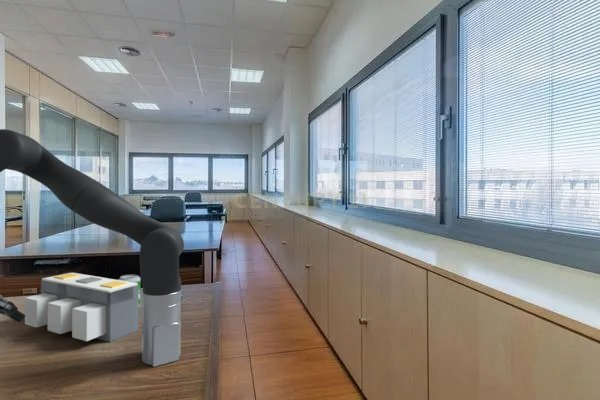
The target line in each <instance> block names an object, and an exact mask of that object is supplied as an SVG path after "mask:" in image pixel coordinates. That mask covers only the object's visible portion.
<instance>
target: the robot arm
mask: <svg viewBox="0 0 600 400" xmlns="http://www.w3.org/2000/svg"><path fill="white" fill-rule="evenodd" d="M5 170H10V171H14V172H15V171H16V172H18V173H21V174H23V175H24V176H27V177H29V178H31V179H32V180H34V181H36V182H38V183H40V184H42V185H44V186H45V187H46V188H47V189H48V190H50V192H51V193H53V195H54V196H55V197H56V198H57V199H58V200H59V202H61V203H62V204H63V205H64V206H65V207H66V208H68V209H69V210H70V211H71V212H73V213H75V214H77V215H79V216H80V217H81V218H83V219H85V220H87V221H88V222H90V223H92V224H94V225H97V226H100V227H101V228H104V229H107V230H109V231H113V232H116V233H118V234H122V235H124V236H126V237H128V238H130V239H131V240H133V241H134V242H136V244H138V245H139V246H140V248H139V271H140V272H139V277H140V279H141V281H140V284H141V285H142V286H141V287H142V307H141V308H142V313H141V315H142V316H141V318H142V319H141V323H142V324H141V326H142V327H141V329H142V330H141V332H142V333H141V362H143V363H144V364H146V365H150V366H152V367H158V366H162V365H165V364H169V363H172V362H177V361H179V359H180V356H181V332H182V331H181V328H182V327H181V326H182V325H181V324H182V323H181V322H182V321H181V320H182V318H181V315H182V313H181V311H182V310H181V309H182V305H181V304H182V279H181V276H180V256H181V254H182V253H183V251H184V247H185V242H184V238H183V236H182V235H181V234H180V232H179V231H178V230H176V229H174V228H172V227H170V226H168V225H166V224H165V223H162V222H161V221H158V220H156V219H154V218H152V217H151V216H149V215H147V214H146V213H144V212H142V211H140V210H139V209H138V208H137V207H135V206H134V205H133V204H132V203H131V202H128V201H127V200H126V199H124V198H123V197H122V196H120V195H118V194H117V193H115V192H114V191H113V190H111V189H110V188H108V187H107V186H105V185H104V184H103V183H101V182H100V181H98V180H96V179H94V178H92V177H91V176H89V175H87V174H86V173H84V172H82V171H80V170H78V169H76V168H74V167H72V166H70V165H68V164H66V162H64V161H62V160H60V159H59V158H58V157H57V156H56V155H54V154H53V153H52V152H50V151H49V150H48V149H47V148H46V147H44V146H43V145H42V144H40V142H38V141H36V140H35V139H34V138H32V137H30V136H28V135H26V134H23V133H19V132H17V131H15V130H12V129H8V128H7V129H6V128H0V173H2V172H3V171H5ZM18 309H19V308H18V307H17V305H15V303H13V301H10V300H7V299H5V296H3V295H1V294H0V315H2V316H5V317H9V318H10V319H12V320H14V322H18V323H20V322H22V321H23V320H24V319H25V313H23V312H21V311H19V310H18Z"/></svg>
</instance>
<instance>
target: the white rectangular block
mask: <svg viewBox="0 0 600 400" xmlns="http://www.w3.org/2000/svg"><path fill="white" fill-rule="evenodd" d="M57 300H58V295H57V294H53V293H43V294H41V293H40V294H36V295H35V294H34V295H31V296H28V297H24V315H25V317H24V324H25V325H27V326H29V327H35V328H39V327H43V326H47V325H46V324H48V303H50V302H53V301H57Z"/></svg>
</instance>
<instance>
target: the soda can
mask: <svg viewBox="0 0 600 400" xmlns="http://www.w3.org/2000/svg"><path fill="white" fill-rule="evenodd" d="M117 280H121V281H127V282H133V283H138V285H139V305H138V308H140V306H141V279H140V276H139V275H137V274H124V275H121V276H120V277H119V278H118V279H117Z"/></svg>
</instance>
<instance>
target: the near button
mask: <svg viewBox="0 0 600 400" xmlns="http://www.w3.org/2000/svg"><path fill="white" fill-rule="evenodd" d="M106 325H107V305H105V304H101V303H96V302H93V303H90V304H86V305H83V306H80V307H76V308H73V309H72V332H71V333H72V335H71V337H72V338H74V339H77V340H80V341H81V340H82V341H84V342H89V341H91V340H94V339H97V338H96V337H99V336H101V335H104V334H106Z"/></svg>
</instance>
